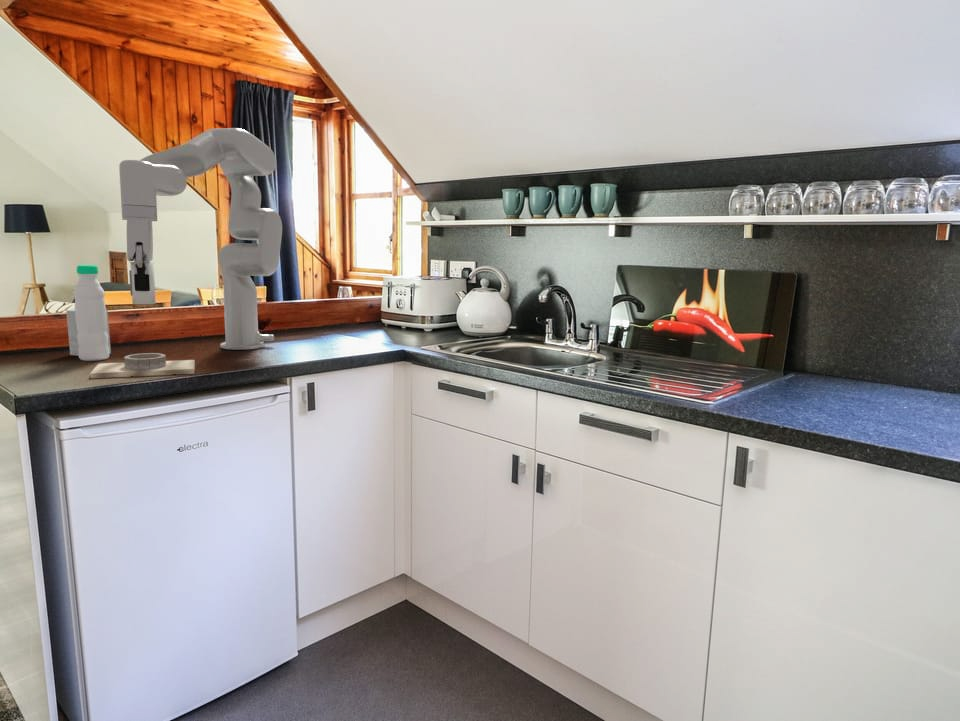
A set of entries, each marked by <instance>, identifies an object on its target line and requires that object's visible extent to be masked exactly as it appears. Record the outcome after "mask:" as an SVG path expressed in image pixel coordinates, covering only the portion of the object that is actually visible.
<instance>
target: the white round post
mask: <svg viewBox="0 0 960 721" xmlns="http://www.w3.org/2000/svg"><path fill="white" fill-rule="evenodd" d="M129 262H130V263H129V264H130V270H129V286H130V291H129V292H130V296H131V298H132V305H156V282H155V267H154V266H155V265H154V262H152V261H150V262H148V274H149V281H150V291H135V284H134V274H135V270H134V261H129ZM144 265H145V264H144Z"/></svg>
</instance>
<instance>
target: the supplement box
mask: <svg viewBox="0 0 960 721" xmlns="http://www.w3.org/2000/svg"><path fill="white" fill-rule="evenodd" d="M65 313H66V323H67V333H68V334H67V335H68V344H69V345H68V346H69V355H70V356H75V357H76V356H78V357H79V353H78V349H79V345H78V340H77V335H78V331H77V325H76V316H75V308H74V309H67V310H66V311H65ZM106 320H107V330H106V332H107V335H108V348H109V355H110V354H112V348H111V339H110V338H111V335H110V326H109V313H108V309H106Z"/></svg>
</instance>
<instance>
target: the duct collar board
mask: <svg viewBox="0 0 960 721" xmlns="http://www.w3.org/2000/svg"><path fill="white" fill-rule="evenodd" d="M166 358H167V356H166V354H164V353H159V352H155V353H154V352H149V353H148V352H147V353H146V352H145V353H143V352H142V353H133V354H132V353H131V354H128V355H125V356H124V357H123V362H107V363H106V362H104V363H98V364H97V365H96V366H95V367H94V368H93V369H92V370H91V372H90V373H89V375H90V376H89V377H90V378H89V379H107V378H128V377H131V376H133V377H150V376H171V375H172V376H173V374H176V375H193V374H195V368H196V361H195V359H182V360H181V359H180V360H177V359H176V360H167V359H166Z"/></svg>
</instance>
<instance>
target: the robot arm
mask: <svg viewBox="0 0 960 721" xmlns="http://www.w3.org/2000/svg"><path fill="white" fill-rule="evenodd" d="M276 160H277V159H276V156H275V153H274V151H273V149H272V148H270V147H269V146H268V145H267V143H264V142H263V141H262V140H261V139H259V138H258V137H256V136H255V135H253V134H252V133H251V132H248V131H247V130H245V129H244V128H243V129H242V128H239V127H227V128H226V127H225V128H216V127H215V128H210V129H207V130H205V131H203V132H201V133H200V134H198V135H197V136H195V137H193V138H192V139H190V140H188V141H187V142H185V143H183V144H180V145H176V146H174V147H170V148H168V149H165V150H161V151H158V152H156V153H152V154H149V155H147V156H144V157H143V158H141V159H125V160H122V161H121V162H119V168H118V169H119V184H120V185H119V187H120V201H121V202H120V203H121V219H122V220H124V221H126V260H127V261H129V262H134V270H135V274H134V284H135V291H150V281H149V274H148V262H152V261H153V260H154V259H153V257H154V256H153V255H154V254H153V252H154V236H153V235H154V234H153V222H158V208H157V206H158V205H157V204H158V203H157V202H158V201H157V196H159V197H174V196H178V195H180V194H182V193H183V192H184V191H185V190H186V188H187V184H188V183H187V182H188V181H187V179H188V178H192V177H193V178H194V177H196V176H201V175H203V174H205V173H207V172H209V170H212V168H214V167H216V166H217V165H218V164H219V167H220V169H221V171H222V172H223V174H224V175H225V177H226V179H227V181H228V183H229V185H230V191H231V198H230V207H229V213H228V222H227V227H228V228H227V229H228V233H229V235H230V236H231V237H232V238H234V239H237V240H243V241H258V243H250V242H249V243H246V242H232V243H231V242H230V243H227V244H225V245H223V246H222V247H221V248H220V250H219V252H218V257H217V258H218V265H219V268H220V273H221V278H222V285H223V286H222V288H223V308H224V309H223V311H224V313H223V314H224V336H225V341H224V342H221V343H220V344H219V345H220V346H219V347H220V348H221V349H224V350H233V351H236V350H237V351H240V350H242V351H244V350H247V351H249V350H255V349H261V348H264V346H265V344H264V341H265V342H266V341H268V342H269V341H271V342H272V341H273V342H274V341H275V335H274V334H263V333H260V331H259V322H258V321H259V319H258V318H259V317H258V315H259V314H258V290H257V286H256V285H255V283H254V281H253V279H252V277H251V276H253V277H256V276H257V277H270V276H272V275H273V274H275V273H276V271H277V269H278V266H279V262H280V254H281V253H280V252H281V247H282V246H281V244H282V238H283V237H282V236H283V222H282V218H281V216H280V215H279V213H278V212H277V211H276V210H274V209H272V208H269V207H268V208H266V207H262V208H261V204H262V193H261V190H260V187H259V186H258V184H257V183H256V181H255V180H254V179H253V176H254V177H255V176H256V177H257V176H259V177H264V176H265V177H266V176H270V175H271V174H272V173H273V172H274V171H275V169H276V168H277V167H276V166H277V161H276ZM144 264H145V265H144Z"/></svg>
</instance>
